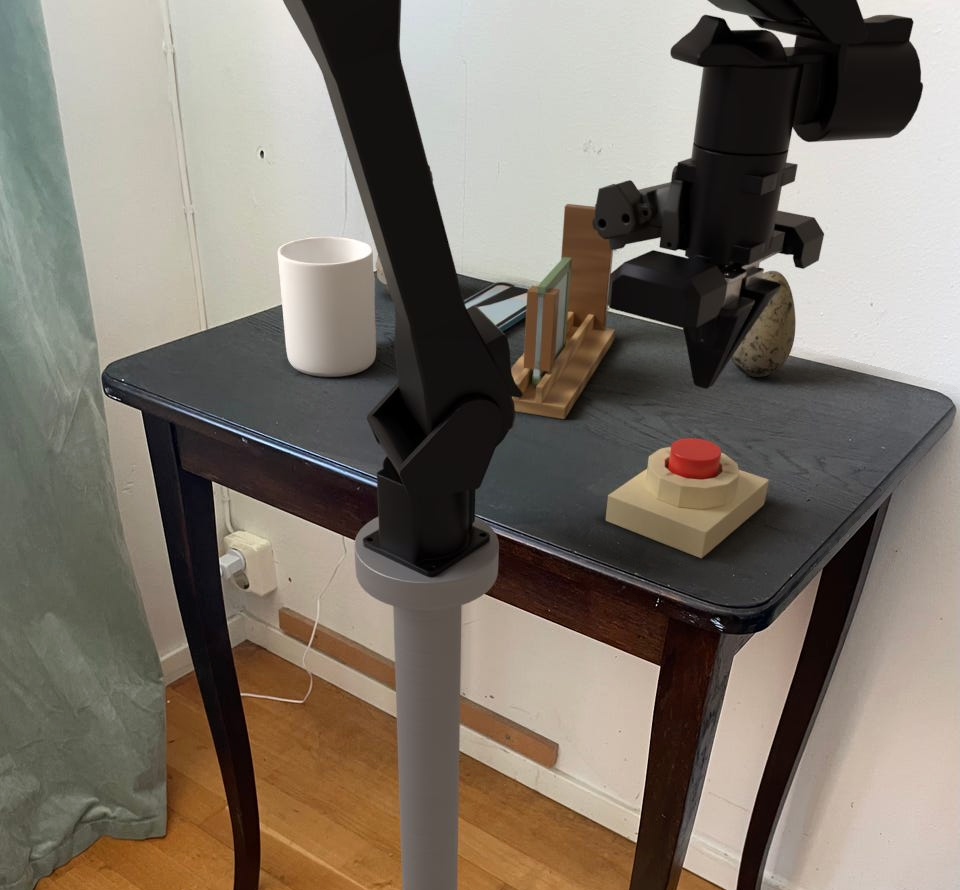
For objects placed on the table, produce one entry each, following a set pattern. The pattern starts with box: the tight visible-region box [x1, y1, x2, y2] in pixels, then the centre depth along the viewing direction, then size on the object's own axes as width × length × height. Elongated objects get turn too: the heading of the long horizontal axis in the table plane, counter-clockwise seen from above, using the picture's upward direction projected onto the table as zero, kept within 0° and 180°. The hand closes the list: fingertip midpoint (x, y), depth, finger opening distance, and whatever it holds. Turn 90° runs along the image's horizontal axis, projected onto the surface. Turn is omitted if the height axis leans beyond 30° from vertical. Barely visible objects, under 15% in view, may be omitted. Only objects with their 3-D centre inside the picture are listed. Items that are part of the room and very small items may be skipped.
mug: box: [277, 236, 377, 378], centre depth 97 cm, size 9×12×11 cm
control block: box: [605, 446, 770, 559], centre depth 76 cm, size 10×8×4 cm
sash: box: [523, 257, 572, 386], centre depth 93 cm, size 9×2×9 cm, turn 162°
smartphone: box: [463, 281, 531, 333], centre depth 111 cm, size 7×1×15 cm
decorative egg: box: [731, 270, 797, 378], centre depth 96 cm, size 6×6×10 cm
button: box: [668, 437, 722, 480], centre depth 74 cm, size 4×4×2 cm
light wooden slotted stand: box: [511, 203, 616, 420], centre depth 95 cm, size 20×7×13 cm, turn 162°
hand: (703, 386), depth 71 cm, fingers closed
